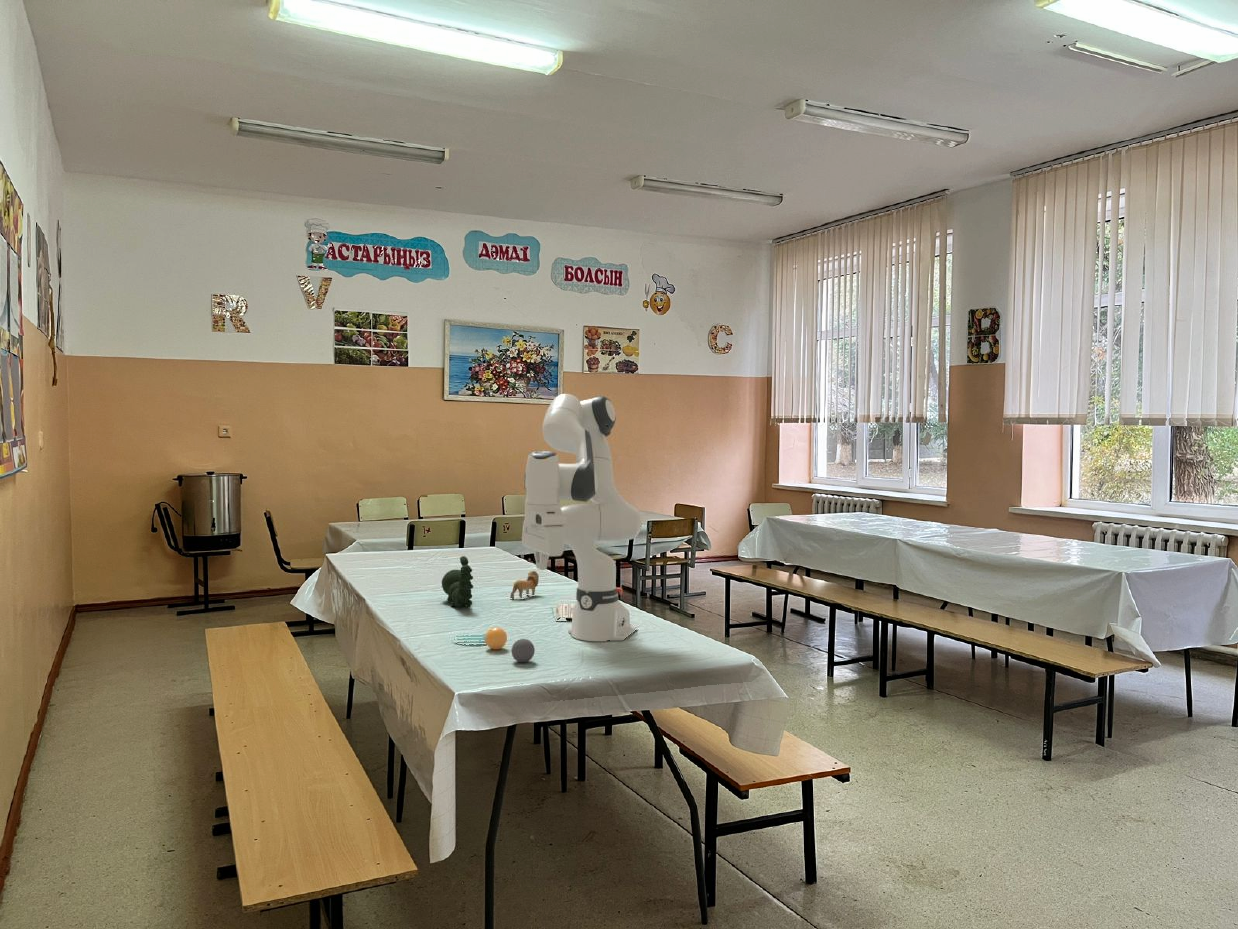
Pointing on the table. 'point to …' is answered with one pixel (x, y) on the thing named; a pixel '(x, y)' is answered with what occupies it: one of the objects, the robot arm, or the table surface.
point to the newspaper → (564, 611)
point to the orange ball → (496, 638)
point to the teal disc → (473, 639)
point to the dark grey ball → (523, 650)
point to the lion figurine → (526, 584)
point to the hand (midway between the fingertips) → (541, 569)
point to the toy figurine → (459, 585)
